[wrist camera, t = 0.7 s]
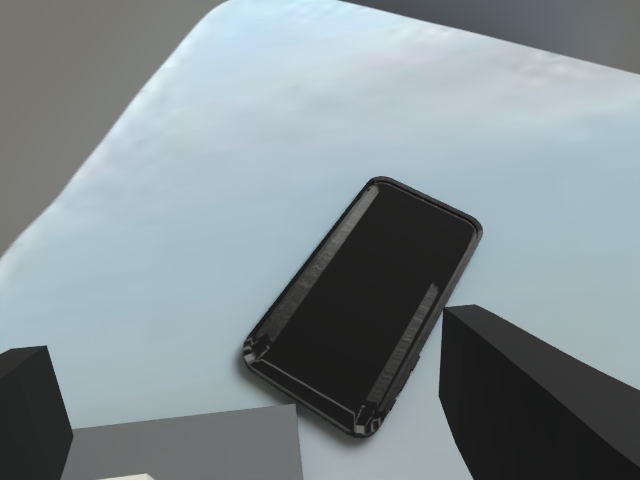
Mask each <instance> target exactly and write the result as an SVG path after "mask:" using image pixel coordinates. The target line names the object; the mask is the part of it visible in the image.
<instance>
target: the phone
mask: <svg viewBox="0 0 640 480" xmlns="http://www.w3.org/2000/svg"><path fill="white" fill-rule="evenodd" d="M482 235H483V228H482V226H481V224H480V223H479V222H478V220H477V219H475V218H474V217H472V216H470V215H468V214H466V213H464V212H462V211H460V210H458V209H455V208H453V207H451V206H449V205H447V204H445V203H443V202H441V201H439V200H436V199H434V198H432V197H430V196H428V195H426V194H424V193H422V192H420V191H417V190H415V189H413V188H411V187H409V186H407V185H405V184H403V183H401V182H398V181H396V180H394V179H392V178H389V177H385V176H379V177H374V178H372V179H370V180H369V181H368V182H367V183H366V185H365V186H364V187H363V189H362V190H361V191H360V192H359V194H358V195H357V196H356V198H355V199H354V200H353V201H352V203H351V204H350V205H349V207H348V208H347V209H346V210H345V212H344V213H343V214H342V216H341V217H340V218H339V220H338V221H337V222H336V223H335V225H334V226H333V227H332V229H331V230H330V231H329V232H328V234H327V235H326V236H325V238H324V239H323V240H322V241H321V243H320V244H319V245H318V247H317V248H316V249H315V250H314V252H313V253H312V254H311V256H310V257H309V258H308V259H307V261H306V262H305V263H304V265H303V266H302V267H301V268H300V270H299V271H298V272H297V274H296V275H295V276H294V277H293V279H292V280H291V281H290V283H289V284H288V285H287V287H286V288H285V289H284V290H283V292H282V293H281V294H280V296H279V297H278V298H277V299H276V301H275V302H274V303H273V305H272V306H271V307H270V308H269V310H268V311H267V312H266V314H265V315H264V316H263V317H262V319H261V320H260V321H259V323H258V324H257V325H256V326H255V328H254V329H253V330H252V332H251V333H250V334H249V335H248V337H247V339H246V340H245V342H244V346H243V354H244V359H245V363H246V365H247V367H248V368H249V369H250V370H251V371H252V372H253V373H255V374H256V375H258V376H259V377H261V378H262V379H264V380H265V381H267V382H268V383H270V384H272V385H273V386H275V387H276V388H278V389H279V390H281V391H282V392H284V393H285V394H287V395H288V396H290V397H291V398H293V399H295V400H296V401H298V402H299V403H301V404H302V405H304V406H305V407H307V408H308V409H310V410H311V411H313V412H314V413H316V414H318V415H319V416H321V417H322V418H324V419H325V420H327V421H328V422H330V423H331V424H333V425H334V426H336V427H338V428H339V429H341V430H342V431H344V432H345V433H347V434H349V435H351V436H353V437H359V438H364V437H368V436H370V435H372V434H374V433H375V432H376V431H377V430H378V429H379V427H380V426H381V424H382V422H383V421H384V419H385V417H386V415H387V413H388V411H389V410H390V411H391V409H392V407H393V405H394V404H395V402H396V399H395V398H396V396H397V394H398V393H399V391H402V389H403V387H404V386H405V384H406V382H407V380H408V378H409V376H410V374H409V372H410V370H412V371H413V370H414V368H415V366H416V364H417V362H418V360H419V358H420V356H418V355H419V353H420V352H421V350H422V348H423V346H424V344H425V342H426V340H427V339H428V337H429V335H430V333H431V331H432V329H433V327H434V325H435V324H436V322H437V320H438V318H439V316H440V314H441V312H442V311H443V307H445V305H446V303H447V301H448V299H449V298H450V296H451V294H452V292H453V290H454V288H455V286H456V284H457V283H458V281H459V279H460V277H461V275H462V273H463V271H464V270H465V268H466V266H467V264H468V262H469V260H470V258H471V257H472V255H473V253H474V251H475V249H476V247H477V245H478V243H479V242H480V240H481V238H482Z"/></svg>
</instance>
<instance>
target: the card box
mask: <svg viewBox="0 0 640 480" xmlns="http://www.w3.org/2000/svg"><path fill="white" fill-rule="evenodd" d="M100 480H154V479H153V478H152V477H151V476H149V475H148V474H139V475H131V476H124V477H116V478H108V479H100Z"/></svg>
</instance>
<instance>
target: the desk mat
mask: <svg viewBox="0 0 640 480" xmlns="http://www.w3.org/2000/svg"><path fill="white" fill-rule="evenodd" d="M72 432H73V436H74V437H73V440H72V444H71V447H70V450H69V454H68V457H67V461H66V464H65V468H64V471H63V474H62V477H61V480H100V479H108V478H116V477H124V476H131V475H139V474H148V475H149V476H151V477H152V478H153V479H154V480H303V473H302V463H301V453H300V444H299V434H298V424H297V414H296V404H288V405H279V406H271V407H262V408H253V409H245V410H236V411H227V412H219V413H210V414H201V415H193V416H184V417H175V418H167V419H158V420H150V421H141V422H132V423H124V424H115V425H106V426H98V427H89V428H80V429H72Z"/></svg>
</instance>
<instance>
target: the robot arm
mask: <svg viewBox="0 0 640 480" xmlns="http://www.w3.org/2000/svg"><path fill="white" fill-rule="evenodd" d="M439 398H440V401H441V404H442V407H443V410H444V413H445V416H446V419H447V421H448V424H449V427H450V430H451V432H452V435H453V438H454V440H455V443H456V445H457V447H458V449H459V451H460V453H461V455H462V458H463V459H464V461H465V463H466V465H467V467H468V469H469V471H470V473H471V475H472V477H473V479H474V480H640V390H638V389H636V388H634V387H631V386H629V385H627V384H625V383H623V382H621V381H619V380H617V379H615V378H613V377H611V376H609V375H607V374H605V373H603V372H601V371H599V370H597V369H595V368H593V367H591V366H589V365H587V364H585V363H583V362H581V361H579V360H577V359H575V358H574V357H572V356H570V355H568V354H566V353H564V352H562V351H561V350H559V349H557V348H555V347H553V346H551V345H549V344H548V343H546V342H544V341H542V340H540V339H539V338H537V337H535V336H533V335H532V334H530V333H528V332H526V331H524V330H523V329H521V328H519V327H517V326H515V325H514V324H512V323H510V322H508V321H506V320H505V319H503V318H501V317H499V316H497V315H495V314H494V313H492V312H490V311H488V310H486V309H484V308H482V307H479V306H477V305H475V304H474V305H464V306H453V307H443V323H442V342H441V361H440V379H439ZM73 437H74V436H73V432H72V429H71V425H70V422H69V419H68V415H67V412H66V409H65V405H64V402H63V399H62V395H61V392H60V389H59V385H58V382H57V379H56V375H55V372H54V369H53V365H52V362H51V359H50V355H49V352H48V349H47V345H46V346H36V347H26V348H15V349H10V350H8V351H6V352H4V353H2V354H0V480H61V477H62V474H63V471H64V468H65V464H66V461H67V457H68V454H69V450H70V447H71V444H72V440H73Z"/></svg>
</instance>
